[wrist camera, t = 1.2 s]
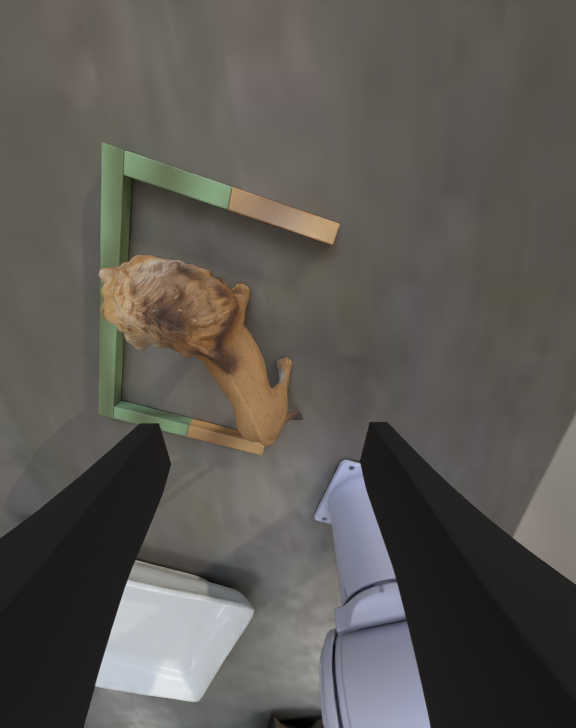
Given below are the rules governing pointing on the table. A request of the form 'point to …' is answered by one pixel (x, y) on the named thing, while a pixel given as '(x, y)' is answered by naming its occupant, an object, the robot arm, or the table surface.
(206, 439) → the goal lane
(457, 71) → the table surface
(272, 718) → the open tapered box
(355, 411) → the table surface
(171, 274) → the lion figurine
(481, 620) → the robot arm
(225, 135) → the table surface
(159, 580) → the square plate
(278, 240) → the table surface
